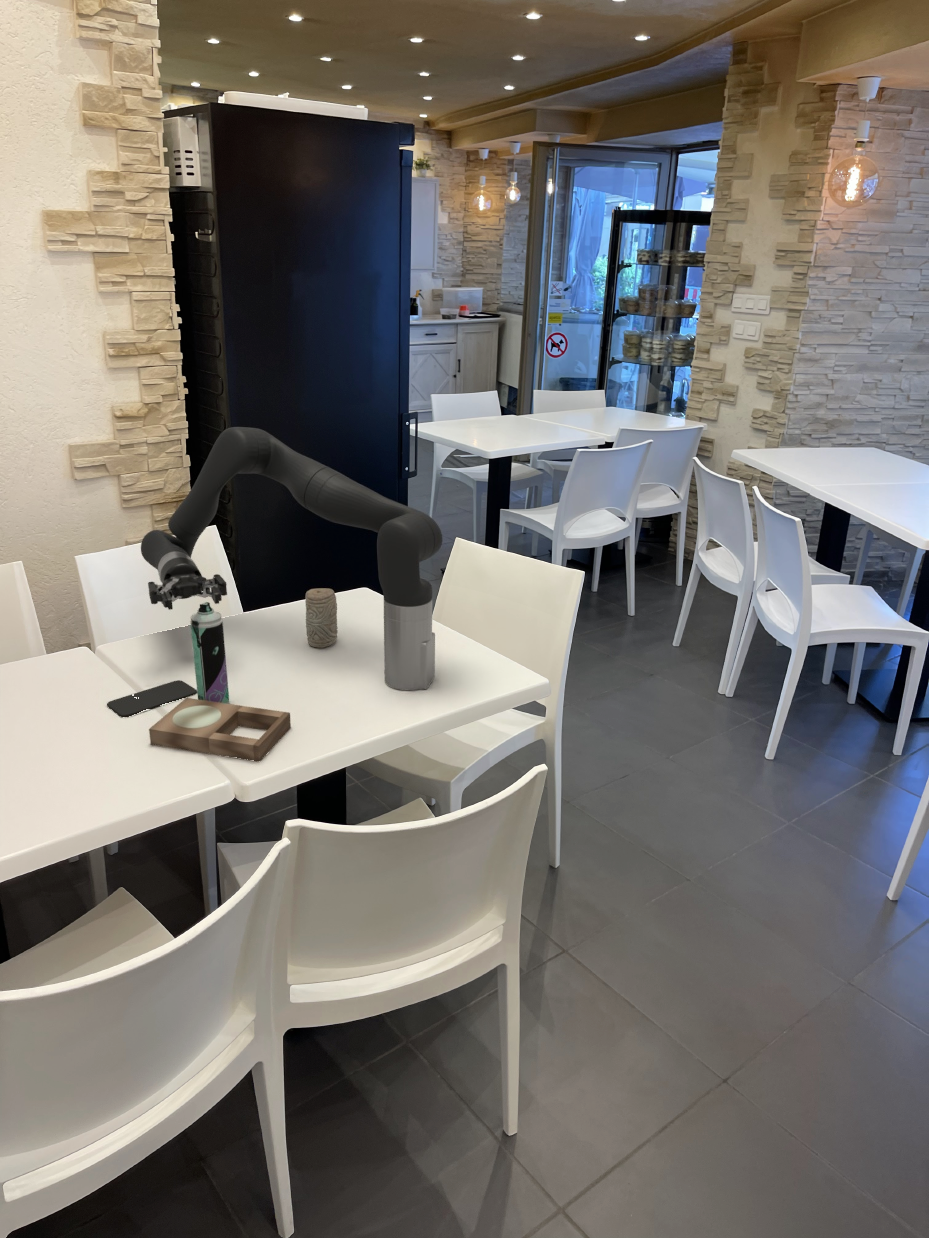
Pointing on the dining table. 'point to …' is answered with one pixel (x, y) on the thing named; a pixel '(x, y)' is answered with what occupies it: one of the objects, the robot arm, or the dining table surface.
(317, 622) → the carving
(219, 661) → the spray can
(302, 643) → the dining table surface
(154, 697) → the phone
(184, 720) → the walnut tray
